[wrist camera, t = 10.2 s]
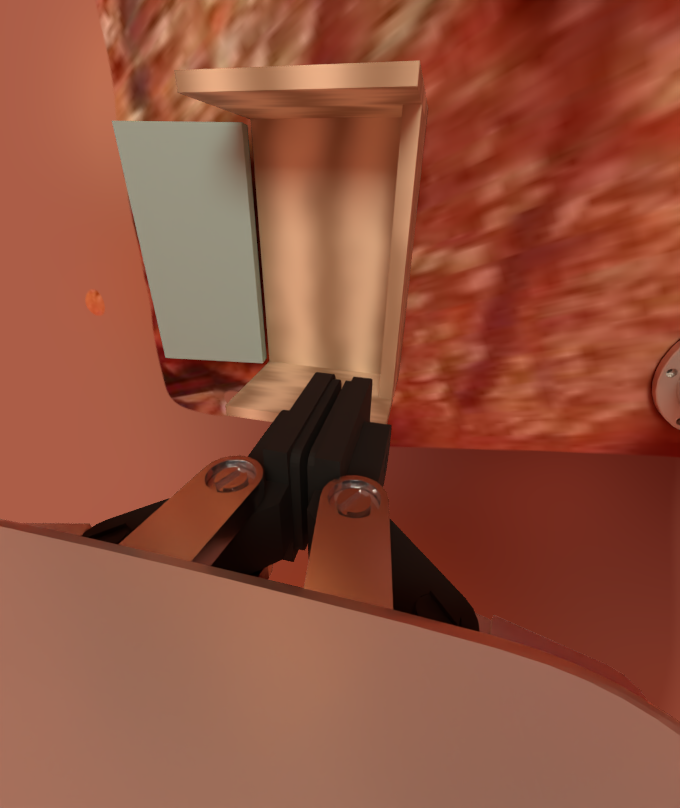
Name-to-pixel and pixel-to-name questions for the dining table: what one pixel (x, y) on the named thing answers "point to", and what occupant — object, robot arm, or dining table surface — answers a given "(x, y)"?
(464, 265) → the dining table surface
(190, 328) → the panel
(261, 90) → the wooden tray crate
